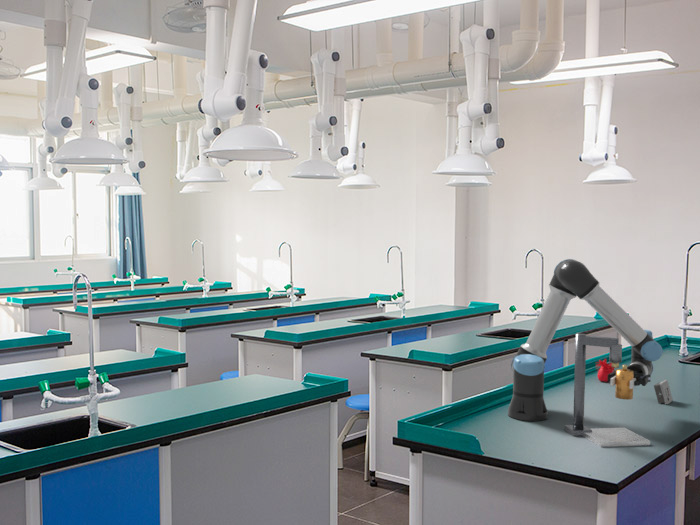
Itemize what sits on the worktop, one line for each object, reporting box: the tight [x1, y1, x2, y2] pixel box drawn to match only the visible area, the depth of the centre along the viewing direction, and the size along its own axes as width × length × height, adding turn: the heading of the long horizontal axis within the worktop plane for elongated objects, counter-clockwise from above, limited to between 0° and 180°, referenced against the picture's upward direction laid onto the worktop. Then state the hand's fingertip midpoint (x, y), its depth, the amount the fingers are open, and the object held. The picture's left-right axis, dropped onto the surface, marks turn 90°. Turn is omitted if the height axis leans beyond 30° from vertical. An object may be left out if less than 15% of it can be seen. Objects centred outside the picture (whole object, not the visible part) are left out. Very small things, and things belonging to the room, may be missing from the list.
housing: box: [614, 364, 634, 400], centre depth 253 cm, size 6×6×12 cm
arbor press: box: [564, 333, 651, 448], centre depth 244 cm, size 22×20×36 cm
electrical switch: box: [653, 379, 674, 405], centre depth 297 cm, size 9×5×9 cm, turn 141°
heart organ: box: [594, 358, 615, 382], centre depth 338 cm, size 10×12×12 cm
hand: (621, 383), depth 249 cm, fingers closed on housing, 6 cm apart
